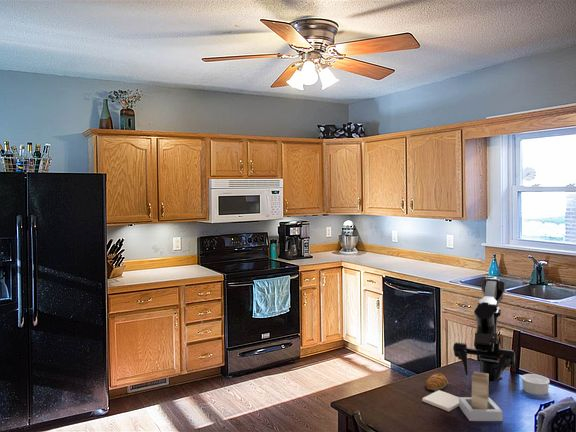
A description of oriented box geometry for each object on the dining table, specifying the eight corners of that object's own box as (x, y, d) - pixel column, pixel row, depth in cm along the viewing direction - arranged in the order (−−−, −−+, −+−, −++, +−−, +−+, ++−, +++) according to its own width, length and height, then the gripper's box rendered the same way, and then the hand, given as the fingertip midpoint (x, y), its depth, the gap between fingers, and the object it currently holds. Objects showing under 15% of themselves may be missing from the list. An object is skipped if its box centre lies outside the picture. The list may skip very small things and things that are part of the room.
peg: (473, 409, 150) (473, 371, 150) (488, 412, 148) (488, 373, 148) (471, 414, 146) (471, 376, 146) (486, 418, 144) (487, 378, 144)
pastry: (440, 394, 162) (440, 383, 162) (421, 389, 166) (421, 379, 166) (449, 385, 170) (448, 374, 170) (431, 380, 174) (430, 370, 174)
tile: (438, 392, 163) (438, 390, 163) (465, 402, 155) (465, 399, 155) (422, 401, 156) (422, 398, 156) (449, 411, 149) (449, 408, 149)
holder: (458, 406, 152) (458, 397, 152) (489, 406, 152) (489, 397, 152) (469, 421, 142) (469, 411, 142) (502, 421, 142) (502, 411, 142)
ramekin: (543, 398, 158) (544, 385, 158) (516, 390, 165) (517, 378, 164) (553, 390, 164) (553, 378, 164) (527, 383, 170) (527, 371, 170)
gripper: (454, 318, 158) (448, 360, 149) (515, 325, 149) (512, 370, 140) (457, 335, 166) (452, 376, 156) (515, 343, 157) (513, 387, 147)
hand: (481, 377), depth 150 cm, fingers open, 9 cm apart
